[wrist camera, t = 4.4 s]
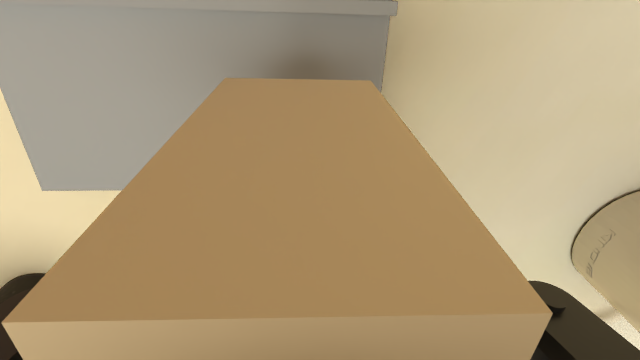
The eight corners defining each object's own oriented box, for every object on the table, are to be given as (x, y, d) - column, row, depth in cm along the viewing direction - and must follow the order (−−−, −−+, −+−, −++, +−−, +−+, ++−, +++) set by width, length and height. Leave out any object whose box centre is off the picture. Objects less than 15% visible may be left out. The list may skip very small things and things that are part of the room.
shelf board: (404, -187, 15) (433, -231, 12) (365, 177, 24) (376, 205, 21) (-96, -226, 14) (-208, -287, 11) (56, 178, 22) (19, 209, 19)
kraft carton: (375, 80, 11) (570, 313, 3) (355, 273, 15) (419, 602, 7) (225, 77, 11) (2, 323, 3) (244, 274, 14) (173, 617, 6)
